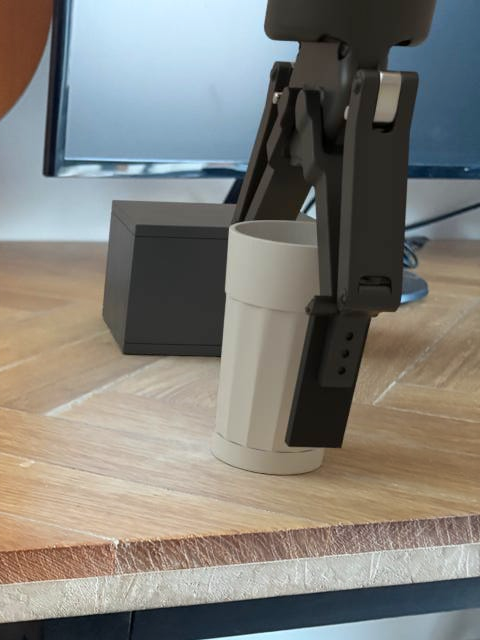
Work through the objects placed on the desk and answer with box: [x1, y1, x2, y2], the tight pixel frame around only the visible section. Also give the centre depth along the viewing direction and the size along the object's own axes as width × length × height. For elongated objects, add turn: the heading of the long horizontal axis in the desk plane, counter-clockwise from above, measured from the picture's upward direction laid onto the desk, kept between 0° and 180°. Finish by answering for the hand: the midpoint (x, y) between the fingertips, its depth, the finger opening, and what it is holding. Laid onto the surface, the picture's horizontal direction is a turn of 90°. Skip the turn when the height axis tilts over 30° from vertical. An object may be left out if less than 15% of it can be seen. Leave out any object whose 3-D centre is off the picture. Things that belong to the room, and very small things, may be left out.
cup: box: [210, 220, 326, 476], centre depth 54 cm, size 8×8×12 cm
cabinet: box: [101, 199, 316, 357], centre depth 77 cm, size 15×12×9 cm
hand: (274, 402), depth 56 cm, fingers open, 13 cm apart
